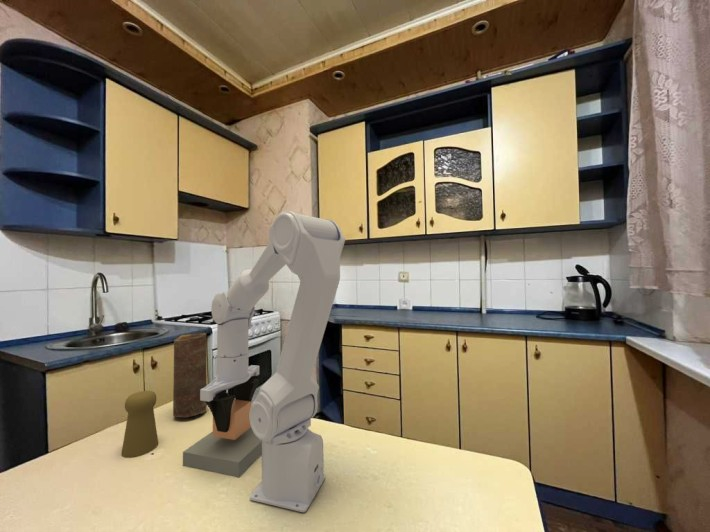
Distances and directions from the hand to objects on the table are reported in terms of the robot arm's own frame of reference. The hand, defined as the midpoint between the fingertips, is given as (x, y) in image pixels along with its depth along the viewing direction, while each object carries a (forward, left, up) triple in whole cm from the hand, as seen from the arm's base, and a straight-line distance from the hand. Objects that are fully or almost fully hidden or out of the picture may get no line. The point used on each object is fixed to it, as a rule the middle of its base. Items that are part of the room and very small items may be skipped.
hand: (233, 423), depth 57 cm
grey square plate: (0, 0, -6) cm, 6 cm away
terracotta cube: (0, 0, -2) cm, 2 cm away
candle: (+21, -10, -6) cm, 24 cm away
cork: (+19, +4, -6) cm, 20 cm away
